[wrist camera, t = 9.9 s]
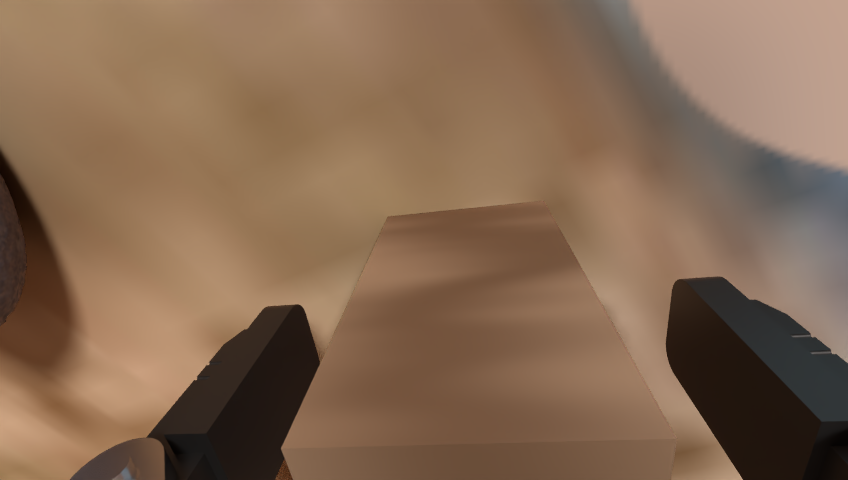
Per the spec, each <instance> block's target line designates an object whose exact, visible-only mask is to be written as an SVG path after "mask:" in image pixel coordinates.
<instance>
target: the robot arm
mask: <svg viewBox="0 0 848 480" xmlns="http://www.w3.org/2000/svg"><path fill="white" fill-rule="evenodd" d="M666 352H667V357H668V361H669V364H670V367H671V369H672V371H673V373H674V374H675V376H676V378H677V379H678V381H679V382H680V384H681V385H682V387H683V388H684V390H685V391H686V393H687V394H688V396H689V397H690V399H691V400H692V402H693V404H694V405H695V407H696V408H697V410H698V411H699V413H700V414H701V416H702V417H703V419H704V420H705V422H706V423H707V425H708V427H709V428H710V430H711V431H712V433H713V434H714V436H715V437H716V439H717V440H718V442H719V443H720V445H721V446H722V448H723V449H724V451H725V453H726V454H727V456H728V457H729V459H730V460H731V462H732V463H733V465H734V466H735V468H736V469H737V471H738V472H739V474H740V476H741V477H742V479H743V480H848V363H846V362H845V361H844V360H843V359H842V358H840V357H839V356H838V355H837V354H832V353H831V350H830V349H829V348H828V347H827V346H825V345H824V344H823V343H822V342H821V341H819V340H818V339H817V338H816V337H813V338H812V337H811V333H809V332H808V331H807V330H806V329H804V328H803V327H802V326H801V325H799V324H798V323H797V322H796V321H795V320H793V319H792V318H791V317H790V316H788V315H787V314H785V313H783V312H781V311H779V310H777V309H775V308H772V307H770V306H768V305H766V304H764V303H762V302H760V301H758V300H749V299H748V298H747V297H746V296H745V295H743V294H742V293H741V292H740V291H739V290H738V289H736V288H735V287H734V286H733V285H732V284H731V283H729V282H728V281H727V280H726V279H724V278H723V277H705V278H690V279H679V280H677V281H676V282H675V283H674V285H673V289H672V296H671V304H670V312H669V321H668V329H667V337H666ZM319 365H320V362H319V357H318V353H317V350H316V347H315V343H314V340H313V337H312V333H311V330H310V326H309V323H308V320H307V316H306V313H305V311H304V309H303V307H302V306H301V305H283V306H268V307H265V308H264V309H263V310H262V311H261V313H260V314H259V315H258V316H257V318H256V319H255V320H254V321H253V323H252V324H251V325H250V326H249V328H248V329H246V330H243V331H242V332H240V333H239V334H238V335H236V336H235V337H234V338H232V339H231V340H229V341H228V342H227V343H225V344H224V345H223V346H222V347H221V349H220V350H219V351H218V352H217V353H216V355H215V356H214V357H213V358H212V359H211V361H210V364H209V365H206V367H205V368H204V369H203V370H202V371H201V373H200V374H199V375H198V376H197V380H194V381H193V382H192V383H191V385H190V386H189V387H188V388H187V389H186V391H185V392H184V393H183V394H182V395H181V397H180V398H179V399H178V400H177V401H176V403H175V404H174V405H173V406H172V407H171V409H170V410H169V411H168V412H167V413H166V415H165V416H164V417H163V418H162V419H161V421H160V422H159V423H158V424H157V425H156V427H155V428H154V429H153V430H152V431H151V433H150V434H149V435H148V436H147V437H146V438H137V439H132V440H129V441H126V442H123V443H121V444H118V445H116V446H114V447H112V448H110V449H108V450H106V451H104V452H103V453H101V454H99V455H98V456H96V457H95V458H94V459H92V460H91V461H89V462H88V463H87V464H86V465H84V466H83V467H82V468H81V469H80V470H79V471H78V472H77V473H76V474H75V475H74V476H73V477H72V478H71V479H70V480H275V478H276V476H277V474H278V472H279V469H280V467H281V465H282V463H283V460H284V455H283V453H282V450H281V447H282V445H283V443H284V441H285V439H286V437H287V434H288V432H289V430H290V428H291V426H292V424H293V421H294V419H295V417H296V415H297V413H298V411H299V408H300V406H301V404H302V402H303V400H304V398H305V395H306V393H307V391H308V389H309V387H310V385H311V382H312V380H313V378H314V376H315V374H316V372H317V369H318V367H319Z"/></svg>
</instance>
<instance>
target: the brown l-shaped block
mask: <svg viewBox="0 0 848 480" xmlns="http://www.w3.org/2000/svg"><path fill="white" fill-rule="evenodd" d="M676 442H677V438H676V436H675V434H674V432H673V431H672V429H671V427H670V425H669V423H668V422H667V420H666V418H665V416H664V415H663V413H662V411H661V409H660V407H659V406H658V404H657V402H656V400H655V398H654V397H653V395H652V393H651V391H650V389H649V388H648V386H647V384H646V382H645V381H644V379H643V377H642V375H641V373H640V372H639V370H638V368H637V366H636V364H635V363H634V361H633V359H632V357H631V355H630V354H629V352H628V350H627V348H626V347H625V345H624V343H623V341H622V339H621V338H620V336H619V334H618V332H617V330H616V329H615V327H614V325H613V323H612V321H611V320H610V318H609V316H608V314H607V313H606V311H605V309H604V307H603V305H602V304H601V302H600V300H599V298H598V296H597V295H596V293H595V291H594V289H593V287H592V286H591V284H590V282H589V280H588V279H587V277H586V275H585V273H584V271H583V270H582V268H581V266H580V264H579V262H578V261H577V259H576V257H575V255H574V253H573V252H572V250H571V248H570V246H569V245H568V243H567V241H566V239H565V237H564V236H563V234H562V232H561V230H560V228H559V227H558V225H557V223H556V221H555V220H554V218H553V216H552V214H551V212H550V211H549V209H548V207H547V205H546V203H545V202H544V201H537V202H527V203H518V204H508V205H498V206H488V207H478V208H468V209H459V210H449V211H439V212H429V213H419V214H409V215H399V216H390V217H387V220H386V222H385V224H384V226H383V228H382V230H381V233H380V235H379V237H378V239H377V241H376V243H375V246H374V248H373V250H372V252H371V254H370V256H369V259H368V261H367V263H366V265H365V267H364V269H363V272H362V274H361V276H360V278H359V280H358V283H357V285H356V287H355V289H354V291H353V293H352V296H351V298H350V300H349V302H348V304H347V306H346V309H345V311H344V313H343V315H342V317H341V319H340V322H339V324H338V326H337V328H336V330H335V332H334V335H333V337H332V339H331V341H330V343H329V345H328V348H327V350H326V352H325V354H324V356H323V358H322V361H321V363H320V365H319V367H318V369H317V372H316V374H315V376H314V378H313V380H312V382H311V385H310V387H309V389H308V391H307V393H306V395H305V398H304V400H303V402H302V404H301V406H300V408H299V411H298V413H297V415H296V417H295V419H294V421H293V424H292V426H291V428H290V430H289V432H288V434H287V437H286V439H285V441H284V443H283V445H282V447H281V450H282V453H283V455H284V458H285V460H286V463H287V466H288V468H289V471H290V473H291V476H292V478H293V480H671V476H672V469H673V462H674V456H675V449H676Z"/></svg>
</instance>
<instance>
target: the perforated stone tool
mask: <svg viewBox="0 0 848 480" xmlns="http://www.w3.org/2000/svg"><path fill="white" fill-rule="evenodd" d="M25 247H26V244H25V239H24V237H23V231H22V228H21V226H20V220H19V218H18V216H17V212H16V210H15V206H14V203H13V200H12V198H11V195H10V192H9V190H8V188H7V186H6V184H5V181H4V179H3V178H2V176H1V174H0V326H1V325H2V324H3V323H4V322H6V318H7V316H8V315H9V314H10V313H12V312H13V311H14V309H15V306H16V304H17V302H18V301H19V298H20V296H21V293H22V287H23V286H24V283H25V271H26V268H27V266H26V263H27V255H26V253H25Z"/></svg>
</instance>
